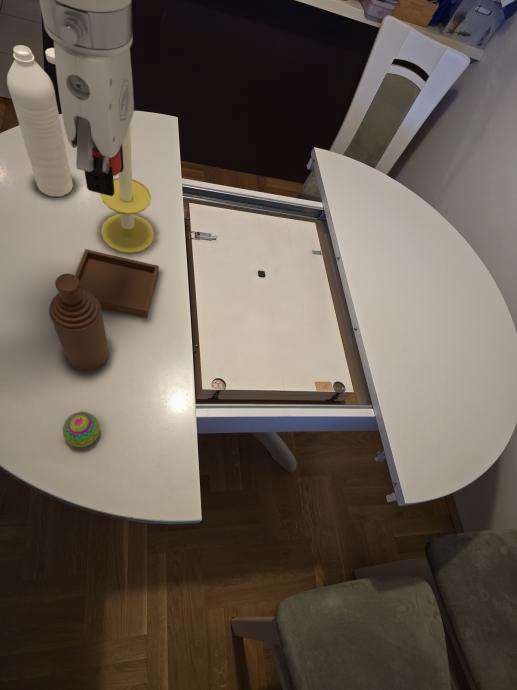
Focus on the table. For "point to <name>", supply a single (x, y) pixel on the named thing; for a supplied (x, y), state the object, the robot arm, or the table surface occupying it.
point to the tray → (118, 282)
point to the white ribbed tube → (39, 121)
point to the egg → (81, 429)
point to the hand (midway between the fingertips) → (106, 178)
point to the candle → (127, 209)
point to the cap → (111, 161)
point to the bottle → (79, 324)
